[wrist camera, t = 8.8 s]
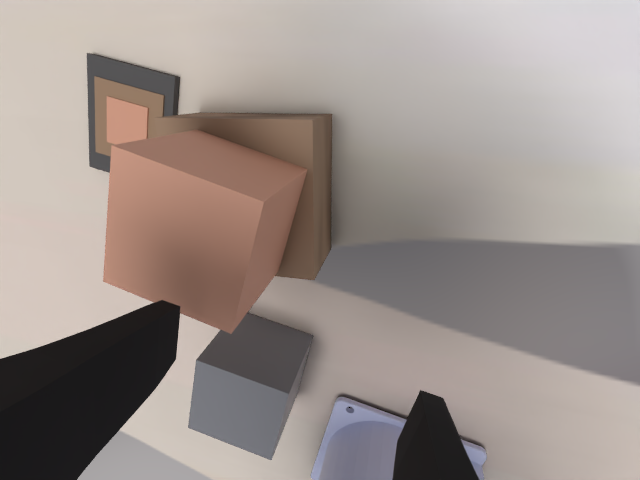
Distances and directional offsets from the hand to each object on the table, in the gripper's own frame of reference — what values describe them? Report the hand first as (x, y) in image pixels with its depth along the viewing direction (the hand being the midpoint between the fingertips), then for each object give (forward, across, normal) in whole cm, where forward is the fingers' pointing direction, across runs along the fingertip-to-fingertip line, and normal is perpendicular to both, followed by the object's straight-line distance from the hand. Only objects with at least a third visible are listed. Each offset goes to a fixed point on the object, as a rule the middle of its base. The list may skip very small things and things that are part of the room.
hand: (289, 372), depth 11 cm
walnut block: (+11, +5, -2) cm, 12 cm away
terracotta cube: (+7, +5, -2) cm, 8 cm away
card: (+10, +13, -3) cm, 17 cm away
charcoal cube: (+10, +3, +9) cm, 14 cm away
